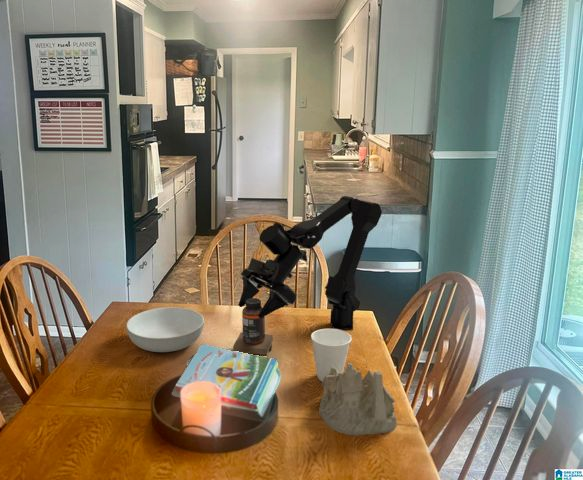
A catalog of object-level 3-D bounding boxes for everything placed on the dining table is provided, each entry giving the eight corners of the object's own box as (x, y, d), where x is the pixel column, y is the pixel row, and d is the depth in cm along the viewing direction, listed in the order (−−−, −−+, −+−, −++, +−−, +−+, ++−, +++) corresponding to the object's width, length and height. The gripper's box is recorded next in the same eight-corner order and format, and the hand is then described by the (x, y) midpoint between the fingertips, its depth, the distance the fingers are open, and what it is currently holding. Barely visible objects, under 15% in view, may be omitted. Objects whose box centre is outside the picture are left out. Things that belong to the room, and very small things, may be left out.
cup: (354, 373, 131) (357, 333, 129) (341, 391, 123) (343, 349, 120) (318, 364, 135) (319, 325, 133) (302, 382, 127) (304, 340, 124)
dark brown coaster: (272, 348, 144) (272, 334, 143) (266, 363, 135) (267, 349, 134) (240, 345, 145) (240, 332, 144) (233, 360, 136) (232, 346, 135)
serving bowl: (111, 352, 139) (109, 328, 138) (158, 323, 158) (157, 302, 157) (176, 368, 132) (176, 343, 130) (218, 336, 151) (218, 314, 149)
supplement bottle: (260, 334, 143) (261, 295, 140) (267, 343, 138) (268, 303, 135) (239, 337, 141) (239, 297, 138) (245, 346, 136) (245, 305, 133)
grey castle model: (401, 435, 107) (403, 366, 104) (321, 437, 106) (321, 368, 104) (386, 398, 122) (387, 337, 119) (316, 400, 122) (316, 339, 119)
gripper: (246, 239, 142) (211, 285, 138) (288, 255, 128) (251, 306, 124) (269, 262, 149) (237, 306, 145) (311, 279, 135) (277, 329, 131)
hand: (249, 311), depth 136 cm, fingers open, 9 cm apart
